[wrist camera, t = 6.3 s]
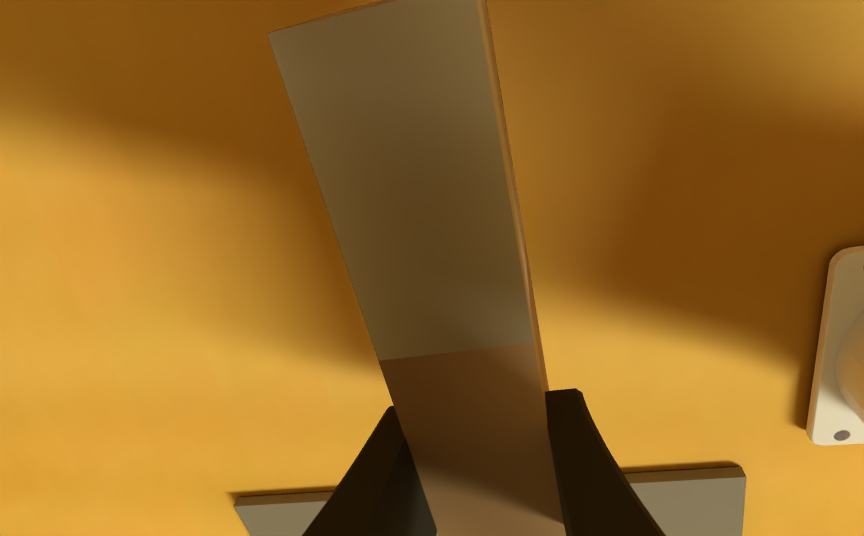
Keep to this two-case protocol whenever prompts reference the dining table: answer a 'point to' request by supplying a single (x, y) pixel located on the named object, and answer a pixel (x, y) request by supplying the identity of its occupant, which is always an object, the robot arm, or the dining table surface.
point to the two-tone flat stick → (433, 247)
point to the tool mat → (659, 491)
